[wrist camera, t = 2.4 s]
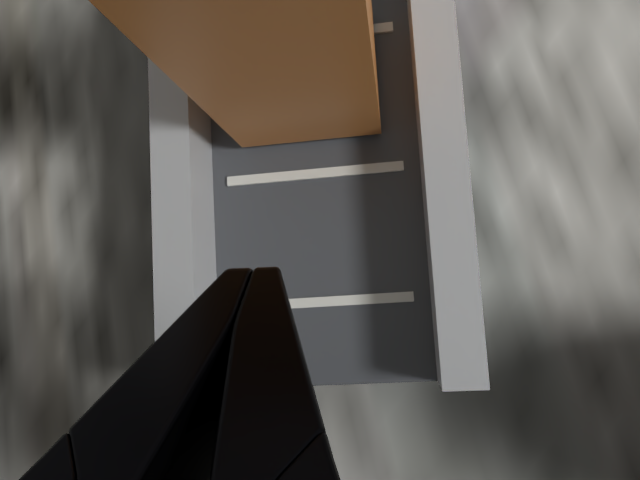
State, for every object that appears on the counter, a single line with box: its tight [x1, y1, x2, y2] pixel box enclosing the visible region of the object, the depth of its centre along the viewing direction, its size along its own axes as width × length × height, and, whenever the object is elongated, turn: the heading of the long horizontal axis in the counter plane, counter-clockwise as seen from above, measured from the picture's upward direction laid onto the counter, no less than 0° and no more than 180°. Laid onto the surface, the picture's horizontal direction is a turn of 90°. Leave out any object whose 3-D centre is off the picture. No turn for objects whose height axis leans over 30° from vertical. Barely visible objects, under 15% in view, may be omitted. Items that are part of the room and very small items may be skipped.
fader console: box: [148, 0, 490, 392], centre depth 18 cm, size 19×9×4 cm, turn 3°
